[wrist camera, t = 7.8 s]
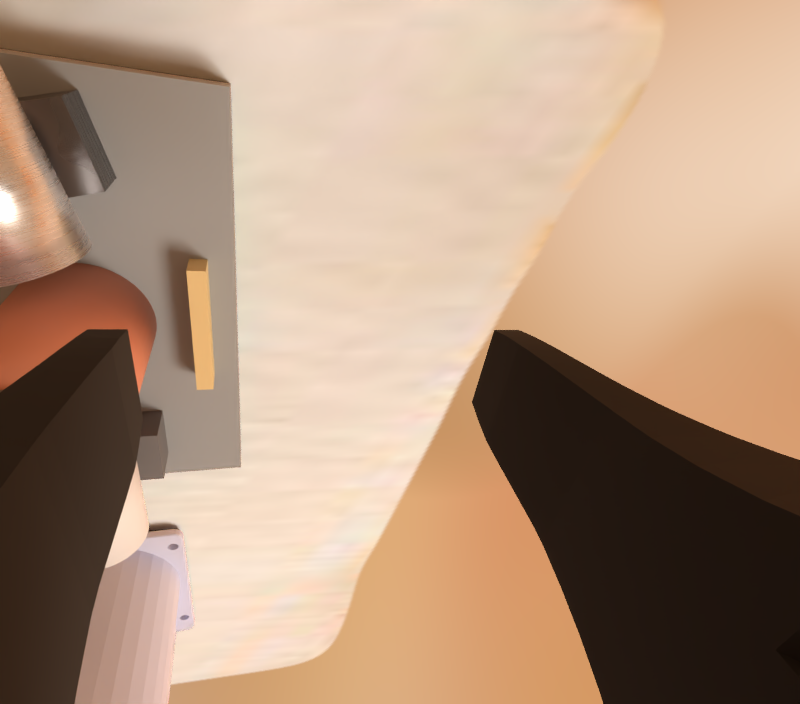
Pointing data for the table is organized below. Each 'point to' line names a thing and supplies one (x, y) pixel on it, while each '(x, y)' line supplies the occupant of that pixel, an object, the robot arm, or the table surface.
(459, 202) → the table surface
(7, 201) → the shaft
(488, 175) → the table surface
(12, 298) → the cylinder
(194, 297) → the bench
